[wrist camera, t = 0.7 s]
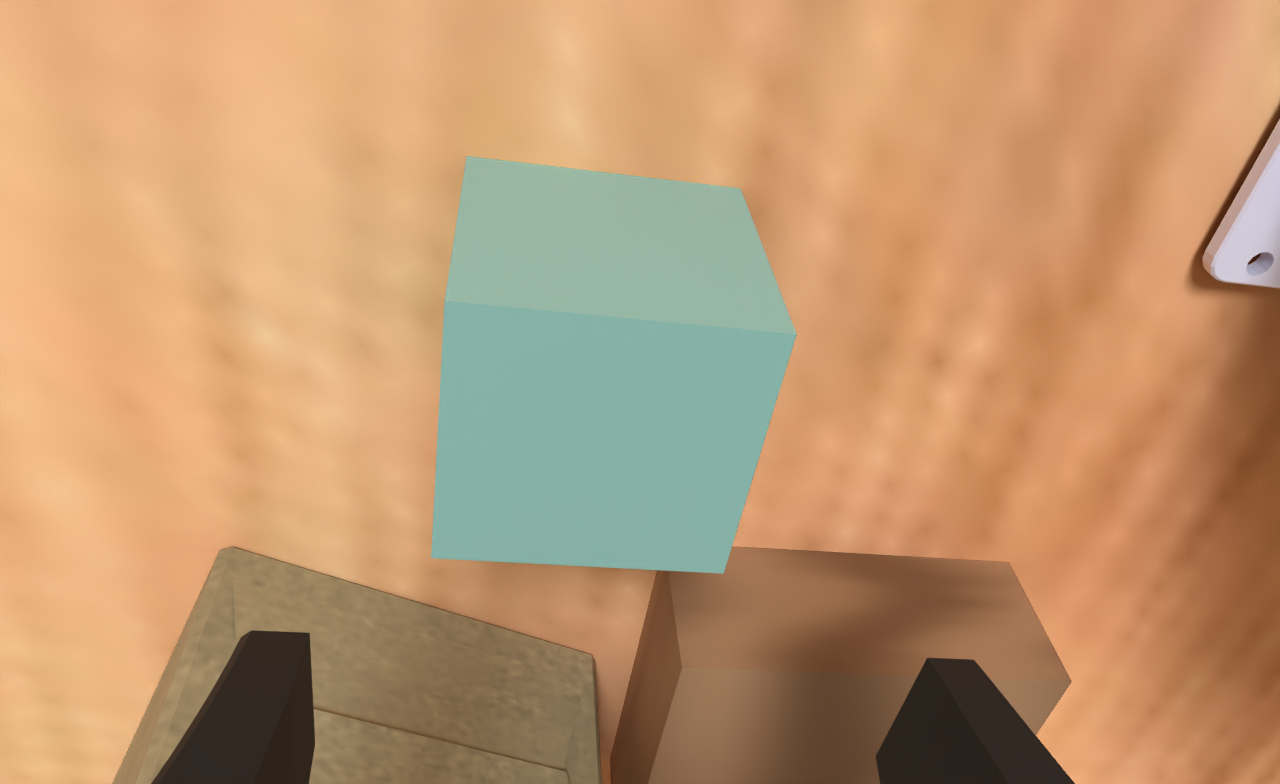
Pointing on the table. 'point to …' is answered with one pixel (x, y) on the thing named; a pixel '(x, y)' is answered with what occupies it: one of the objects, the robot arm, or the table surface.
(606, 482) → the teal cube
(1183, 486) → the table surface
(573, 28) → the table surface
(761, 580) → the walnut block
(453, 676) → the tissue box
